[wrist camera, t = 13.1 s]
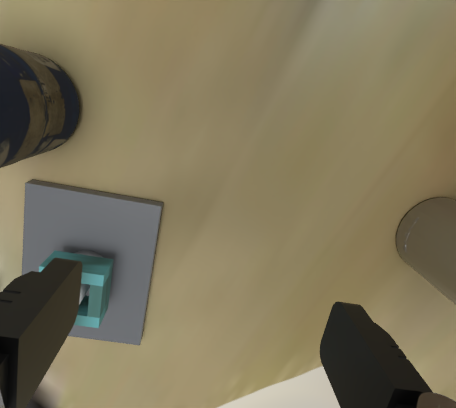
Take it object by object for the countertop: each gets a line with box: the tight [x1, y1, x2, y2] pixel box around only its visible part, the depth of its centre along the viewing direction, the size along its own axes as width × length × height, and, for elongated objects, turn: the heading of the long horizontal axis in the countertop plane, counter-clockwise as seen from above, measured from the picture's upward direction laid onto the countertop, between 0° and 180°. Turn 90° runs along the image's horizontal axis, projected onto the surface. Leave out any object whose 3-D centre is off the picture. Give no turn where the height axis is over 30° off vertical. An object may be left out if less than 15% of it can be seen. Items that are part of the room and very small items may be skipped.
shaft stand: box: [22, 179, 163, 345], centre depth 37 cm, size 14×18×9 cm
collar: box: [39, 251, 113, 328], centre depth 36 cm, size 6×6×4 cm
